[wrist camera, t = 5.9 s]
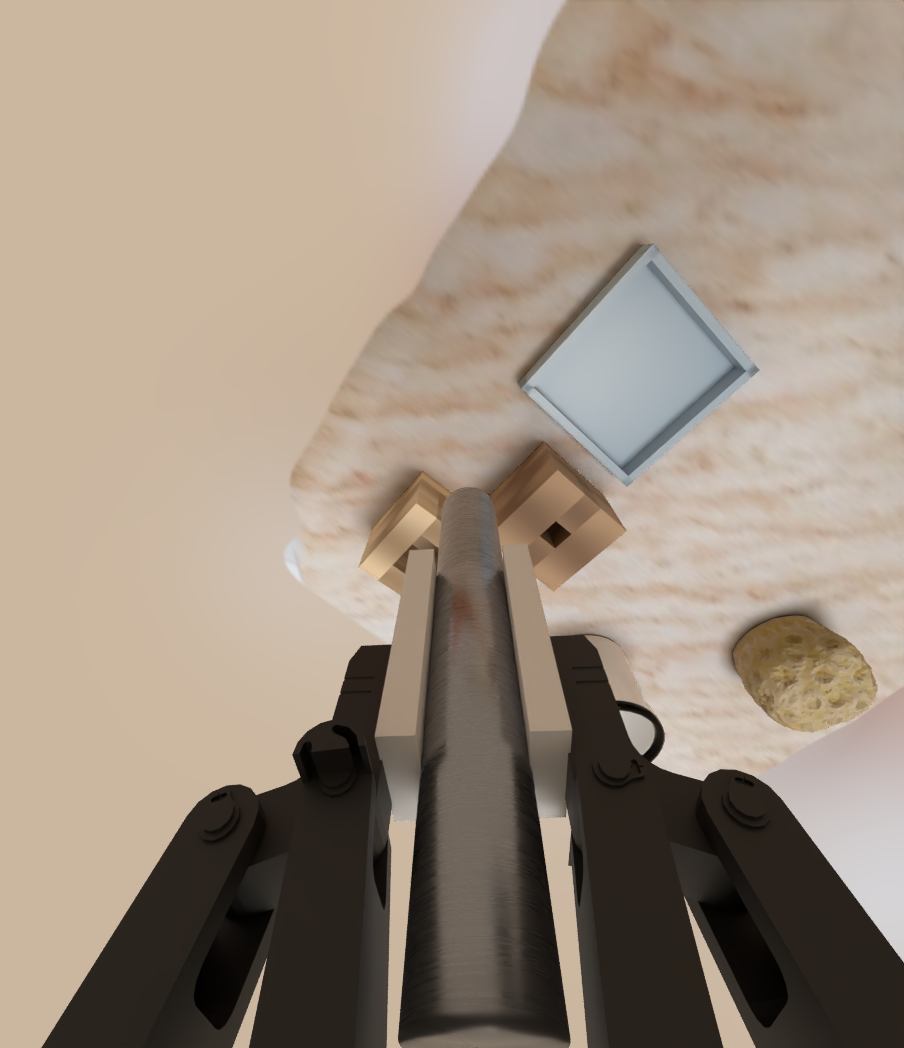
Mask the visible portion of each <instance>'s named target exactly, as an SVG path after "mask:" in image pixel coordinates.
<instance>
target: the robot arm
mask: <svg viewBox="0 0 904 1048" xmlns="http://www.w3.org/2000/svg"><path fill="white" fill-rule="evenodd" d="M502 547H503V575H504V582H505V589H506V596H507V604H508V611H509V618H510V625H511V632H512V640H513V647H514V654H515V661H516V669H517V676H518V683H519V690H520V698H521V705H522V712H523V719H524V727H525V734H526V741H527V748H528V756H529V763H530V767H531V769H532V772H533V779H534V786H535V793H536V800H537V807H538V814H539V818H549V817H566V808H567V810H568V815H569V820H570V825H571V841H570V852H569V864H568V865H569V866H572V873H573V884H574V895H575V906H576V918H577V929H578V941H579V952H580V964H581V975H582V986H583V997H584V1008H585V1020H586V1032H587V1043H588V1048H723V1045H722V1041H721V1037H720V1033H719V1030H718V1026H717V1022H716V1018H715V1014H714V1011H713V1007H712V1003H711V999H710V995H709V991H708V988H707V984H706V980H705V976H704V972H703V969H702V965H701V961H700V957H699V953H698V950H697V946H696V942H695V938H694V934H693V930H692V927H691V923H690V919H689V915H688V911H687V907H686V903H685V900H684V896H685V899H686V901H687V903H688V905H689V907H690V909H691V911H692V913H693V916H694V918H695V920H696V922H697V924H698V926H699V928H700V930H701V932H702V934H703V937H704V939H705V941H706V943H707V945H708V947H709V949H710V952H711V954H712V956H713V958H714V960H715V962H716V964H717V966H718V968H719V970H720V973H721V975H722V977H723V979H724V981H725V983H726V985H727V988H728V990H729V992H730V994H731V996H732V998H733V1000H734V1002H735V1004H736V1007H737V1009H738V1011H739V1013H740V1015H741V1017H742V1019H743V1021H744V1023H745V1026H746V1028H747V1030H748V1032H749V1034H750V1036H751V1038H752V1040H753V1042H754V1045H755V1047H756V1048H904V962H903V961H902V960H901V958H900V957H899V956H898V954H897V953H896V952H895V950H894V949H893V948H892V946H891V945H890V944H889V942H888V941H887V940H886V938H885V937H884V936H883V934H882V933H881V932H880V930H879V929H878V928H877V926H876V925H875V924H874V923H873V921H872V920H871V918H870V917H869V916H868V914H867V913H866V912H865V910H864V909H863V907H862V906H861V905H860V903H859V902H858V901H857V899H856V898H855V897H854V895H853V894H852V893H851V891H850V890H849V889H848V887H847V886H846V885H845V884H844V882H843V881H842V880H841V878H840V877H839V875H838V874H837V873H836V871H835V870H834V869H833V867H832V866H831V865H830V863H829V862H828V861H827V859H826V858H825V857H824V855H823V854H822V853H821V851H820V850H819V849H818V847H817V846H816V845H815V843H814V842H813V841H812V839H811V838H810V837H809V835H808V834H807V833H806V831H805V830H804V829H803V827H802V826H801V825H800V823H799V822H798V821H797V819H796V818H795V816H794V815H793V814H792V812H791V811H790V810H789V808H788V807H787V806H786V805H785V803H784V802H783V800H782V799H781V798H780V797H779V796H778V795H777V794H776V793H775V792H774V791H773V790H772V789H771V788H770V787H769V786H768V785H766V784H765V783H763V782H762V781H760V780H759V779H757V778H756V777H754V776H752V775H749V774H746V773H744V772H741V771H738V770H725V769H720V770H718V771H715V772H713V773H710V774H709V775H708V776H707V777H706V779H705V780H704V781H701V780H697V779H693V778H690V777H686V776H682V775H679V774H675V773H672V772H669V771H666V770H664V769H661V768H659V767H657V766H656V765H654V764H652V763H651V762H649V761H648V760H647V759H646V758H644V757H643V756H642V755H641V754H640V753H639V752H638V751H637V749H636V748H635V747H634V746H633V744H632V742H631V740H630V738H629V736H628V733H627V730H626V728H625V725H624V722H623V719H622V716H621V714H620V711H619V708H618V705H617V702H616V700H615V697H614V694H613V691H612V689H611V686H610V684H609V681H608V677H607V675H606V672H605V670H604V668H603V664H602V661H601V658H600V655H599V652H598V650H597V648H596V647H595V646H594V645H593V644H592V643H591V642H590V641H589V640H588V639H587V638H586V637H585V636H584V635H572V636H549V632H548V628H547V623H546V619H545V615H544V611H543V607H542V603H541V599H540V594H539V590H538V586H537V582H536V578H535V574H534V570H533V565H532V561H531V557H530V553H529V549H528V545H527V544H516V545H502ZM436 580H437V573H436V564H435V555H434V549H423V550H409V556H408V561H407V566H406V572H405V577H404V582H403V588H402V593H401V598H400V604H399V609H398V614H397V620H396V625H395V630H394V636H393V641H392V645H372V646H361V647H360V648H359V650H358V651H357V652H356V653H355V655H354V656H353V657H352V658H351V660H350V661H349V664H348V667H347V671H346V674H345V680H344V682H343V685H342V688H341V694H340V695H339V698H338V702H337V706H336V709H335V712H334V716H333V719H332V720H330V721H327V722H323V723H320V724H318V725H317V726H315V727H314V728H312V729H311V730H309V731H307V733H306V734H305V735H304V736H303V737H302V738H301V739H300V740H299V741H298V743H297V745H296V748H295V750H294V752H293V754H292V755H293V758H294V760H295V763H296V766H297V769H298V771H299V774H300V778H299V779H297V780H296V781H294V782H291V783H289V784H287V785H285V786H282V787H279V788H276V789H273V790H270V791H267V792H264V793H261V794H259V795H255V793H254V792H253V791H252V789H251V788H248V787H246V786H243V785H228V786H225V787H222V788H220V789H218V790H215V791H213V792H211V793H210V794H209V795H208V796H206V797H205V798H203V799H202V800H201V801H199V802H198V803H197V804H196V806H195V807H194V808H193V809H192V811H191V812H190V813H189V814H188V815H187V817H186V818H185V820H184V822H183V823H182V825H181V827H180V828H179V830H178V831H177V833H176V834H175V836H174V838H173V839H172V841H171V842H170V844H169V846H168V847H167V849H166V850H165V852H164V853H163V855H162V857H161V858H160V860H159V862H158V863H157V865H156V866H155V868H154V869H153V871H152V873H151V874H150V876H149V877H148V879H147V881H146V882H145V884H144V885H143V887H142V889H141V890H140V892H139V893H138V895H137V897H136V898H135V900H134V901H133V903H132V904H131V906H130V908H129V909H128V911H127V912H126V914H125V916H124V917H123V919H122V920H121V922H120V924H119V925H118V927H117V928H116V930H115V931H114V933H113V935H112V936H111V938H110V940H109V941H108V943H107V944H106V946H105V947H104V949H103V951H102V952H101V954H100V955H99V957H98V959H97V960H96V962H95V963H94V965H93V967H92V968H91V970H90V971H89V973H88V975H87V976H86V978H85V979H84V981H83V982H82V984H81V986H80V987H79V989H78V991H77V992H76V994H75V995H74V997H73V999H72V1000H71V1002H70V1003H69V1005H68V1006H67V1008H66V1009H65V1011H64V1013H63V1014H62V1016H61V1018H60V1019H59V1021H58V1022H57V1024H56V1026H55V1027H54V1029H53V1030H52V1032H51V1033H50V1035H49V1037H48V1038H47V1040H46V1042H45V1043H44V1045H43V1046H42V1048H232V1047H233V1044H234V1042H235V1039H236V1037H237V1034H238V1031H239V1029H240V1026H241V1024H242V1021H243V1018H244V1016H245V1013H246V1011H247V1008H248V1005H249V1003H250V1000H251V997H252V995H253V992H254V990H255V987H256V985H257V982H258V979H259V977H260V974H261V971H262V969H263V966H264V964H265V961H266V959H267V961H266V966H265V972H264V976H263V981H262V986H261V991H260V996H259V1001H258V1006H257V1011H256V1016H255V1021H254V1025H253V1031H252V1035H251V1040H250V1045H249V1048H386V1046H387V1043H386V1042H387V1004H388V962H389V919H390V916H389V915H390V878H391V845H390V839H389V834H388V830H389V824H390V816H391V810H392V814H393V818H394V821H416V816H417V804H418V792H419V780H420V771H421V764H422V752H423V739H424V727H425V715H426V703H427V690H428V678H429V666H430V654H431V641H432V629H433V617H434V605H435V593H436Z"/></svg>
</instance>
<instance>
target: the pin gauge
mask: <svg viewBox="0 0 904 1048" xmlns="http://www.w3.org/2000/svg"><path fill="white" fill-rule="evenodd" d="M413 853H414V854H413V864H412V877H411V889H410V901H409V913H408V925H407V938H406V949H405V961H404V973H403V985H402V997H401V1009H400V1022H399V1033H398V1041H399V1044H400V1046H401V1047H402V1048H569V1046H570V1033H569V1026H568V1019H567V1012H566V1005H565V998H564V990H563V984H562V976H561V969H560V962H559V955H558V948H557V941H556V935H555V928H554V920H553V913H552V906H551V899H550V892H549V885H548V878H547V871H546V864H545V857H544V850H543V842H542V836H541V828H540V821H539V814H538V807H537V800H536V793H535V786H534V779H533V772H532V769H531V767H530V763H529V756H528V748H527V741H526V734H525V727H524V719H523V712H522V705H521V698H520V690H519V683H518V676H517V669H516V661H515V654H514V647H513V640H512V632H511V625H510V618H509V611H508V604H507V596H506V589H505V582H504V575H503V560H502V553H501V546H500V539H499V532H498V525H497V518H496V511H495V506H494V503H493V501H492V499H491V498H490V496H489V495H488V494H486V493H485V492H483V491H482V490H479V489H476V488H461V489H458V490H456V491H454V492H453V493H451V494H450V495H449V496H448V497H447V498H446V500H445V501H444V503H443V507H442V516H441V528H440V540H439V552H438V564H437V580H436V593H435V605H434V617H433V629H432V641H431V654H430V666H429V678H428V690H427V703H426V715H425V727H424V739H423V752H422V764H421V771H420V780H419V792H418V804H417V816H416V828H415V841H414V852H413Z"/></svg>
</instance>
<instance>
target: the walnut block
mask: <svg viewBox="0 0 904 1048" xmlns="http://www.w3.org/2000/svg"><path fill="white" fill-rule="evenodd" d="M490 498H491V499H492V501H493V503H494V506H495V511H496V518H497V525H498V532H499V539H500V546H501V551H502V552H503V547H502V545H516V544H527V545H528V549H529V553H530V557H531V561H532V565H533V570H534V574H535V577H536V578H537V579H538V580H540V581H541V582H542V583H543V584H545V585H546V586H547V587H549V588H550V589H551V590H553V591H555V590H556V589H557V588H558V587H560V586H561V585H562V584H563V583H564V582H566V581H567V580H568V579H569V578H570V577H572V576H573V575H574V574H575V573H577V572H578V571H579V570H580V569H581V568H583V567H584V566H585V565H586V564H587V563H589V562H590V561H591V560H592V559H593V558H595V557H596V556H597V555H598V554H599V553H601V552H602V551H603V550H604V549H605V548H607V547H608V546H609V545H610V544H611V543H613V542H614V541H615V540H616V539H617V538H619V537H620V536H621V535H622V534H623V533H625V532H626V529H625V528H624V526H623V525H622V523H621V522H620V520H619V518H618V517H617V515H616V514H615V512H614V511H613V509H612V507H611V506H610V504H609V503H608V501H607V500H606V498H605V496H604V495H603V494H602V493H601V492H599V491H598V490H597V489H596V488H595V487H594V486H593V485H592V484H591V483H589V482H588V481H587V480H586V479H585V478H584V477H583V476H582V475H581V474H579V473H578V472H577V471H576V470H575V469H574V468H573V467H572V466H571V465H569V464H568V463H567V462H566V461H565V460H564V459H563V458H562V457H561V456H559V455H558V454H557V453H556V452H555V451H554V450H553V449H552V448H551V447H550V446H548V445H547V444H546V443H545V442H543V443H542V444H541V445H540V446H539V447H538V448H537V449H536V450H535V451H534V452H533V453H532V454H531V455H530V456H529V457H528V458H527V459H526V460H525V461H524V462H523V463H522V464H521V465H520V466H519V467H518V468H517V469H516V470H515V471H514V472H513V473H512V474H511V475H510V476H509V477H508V478H507V479H506V480H505V481H504V482H503V483H502V484H501V485H500V486H499V487H498V488H497V489H496V490H495V491H494V492H493V493H492V494H491V495H490Z"/></svg>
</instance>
